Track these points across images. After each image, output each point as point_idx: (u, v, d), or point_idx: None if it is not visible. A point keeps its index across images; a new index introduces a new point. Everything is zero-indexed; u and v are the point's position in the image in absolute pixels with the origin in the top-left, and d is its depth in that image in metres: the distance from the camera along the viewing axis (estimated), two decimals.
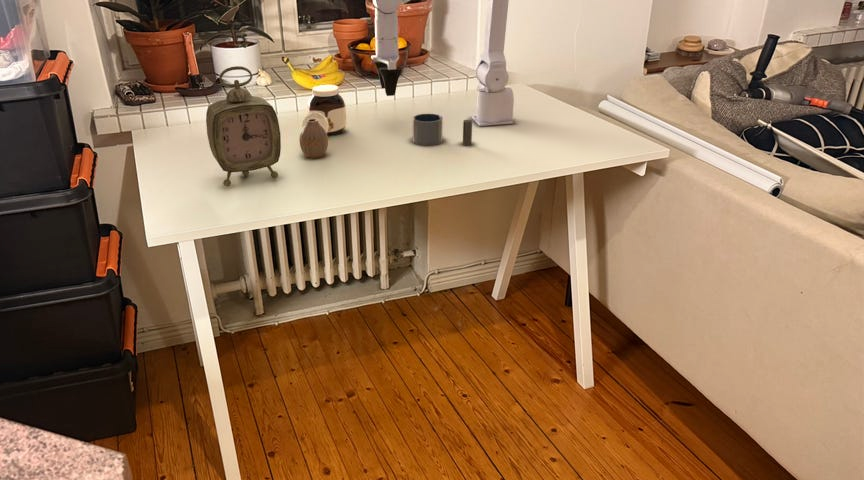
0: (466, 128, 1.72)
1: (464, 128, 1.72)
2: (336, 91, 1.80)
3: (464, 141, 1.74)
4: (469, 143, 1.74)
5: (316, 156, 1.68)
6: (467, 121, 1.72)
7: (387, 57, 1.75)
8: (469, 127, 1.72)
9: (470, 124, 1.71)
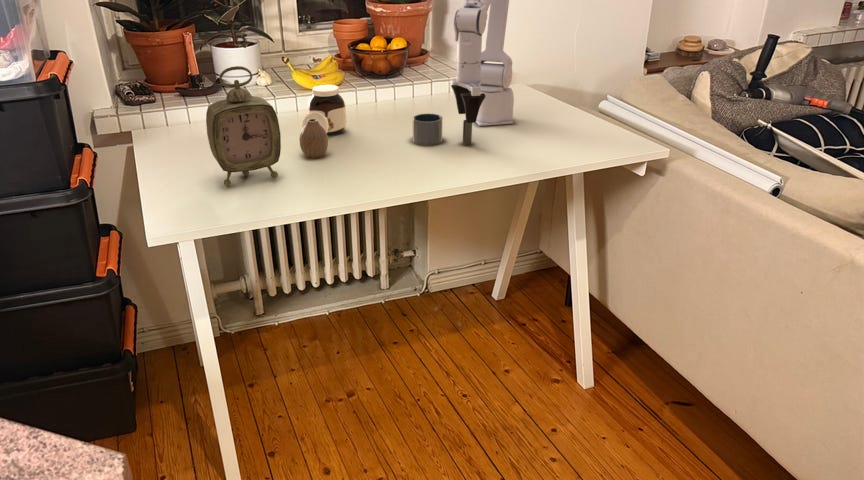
0: (466, 128, 1.72)
1: (464, 128, 1.72)
2: (336, 91, 1.80)
3: (464, 141, 1.74)
4: (469, 143, 1.74)
5: (316, 156, 1.68)
6: None
7: (469, 82, 1.65)
8: (469, 127, 1.72)
9: (470, 124, 1.71)
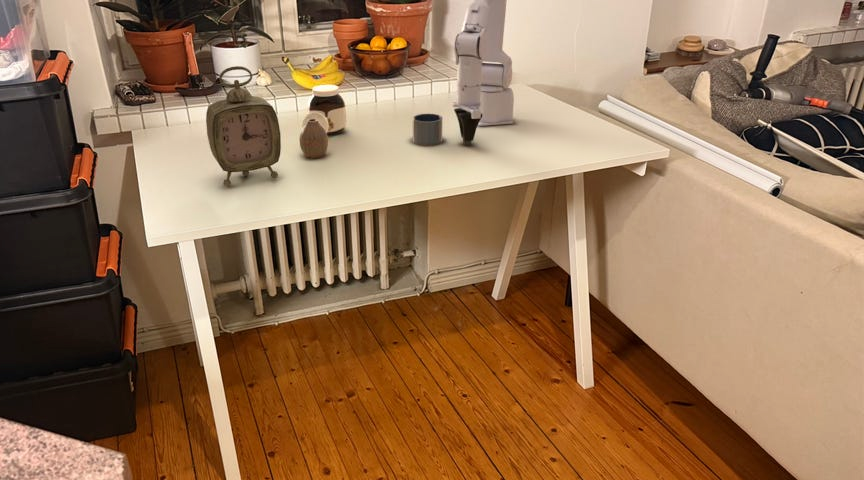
0: None
1: None
2: (336, 91, 1.80)
3: (464, 141, 1.74)
4: (469, 143, 1.74)
5: (316, 156, 1.68)
6: None
7: (469, 105, 1.67)
8: None
9: None
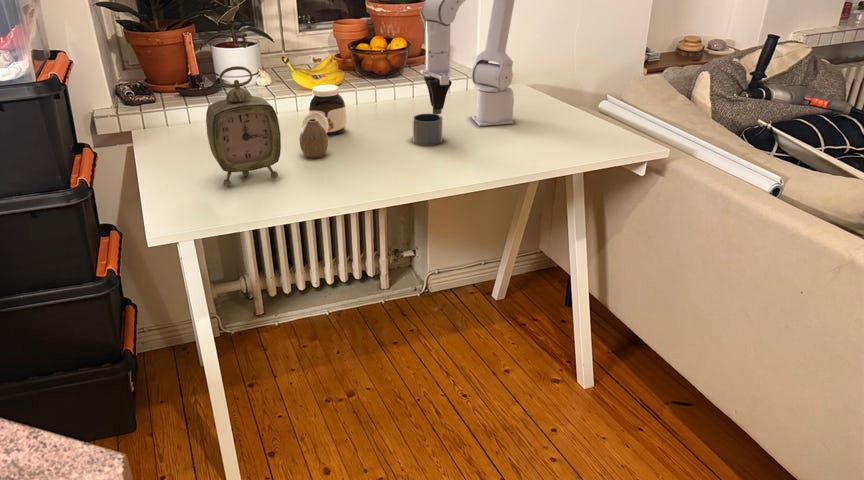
0: None
1: None
2: (336, 91, 1.80)
3: (434, 109, 1.72)
4: (439, 111, 1.72)
5: (316, 156, 1.68)
6: None
7: (438, 71, 1.66)
8: None
9: None
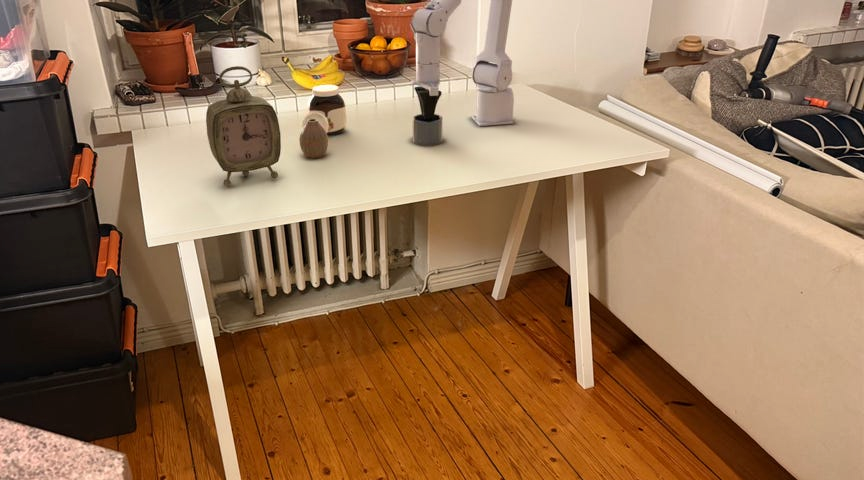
0: None
1: None
2: (336, 91, 1.80)
3: (424, 119, 1.74)
4: (429, 121, 1.74)
5: (316, 156, 1.68)
6: None
7: (428, 82, 1.68)
8: None
9: None
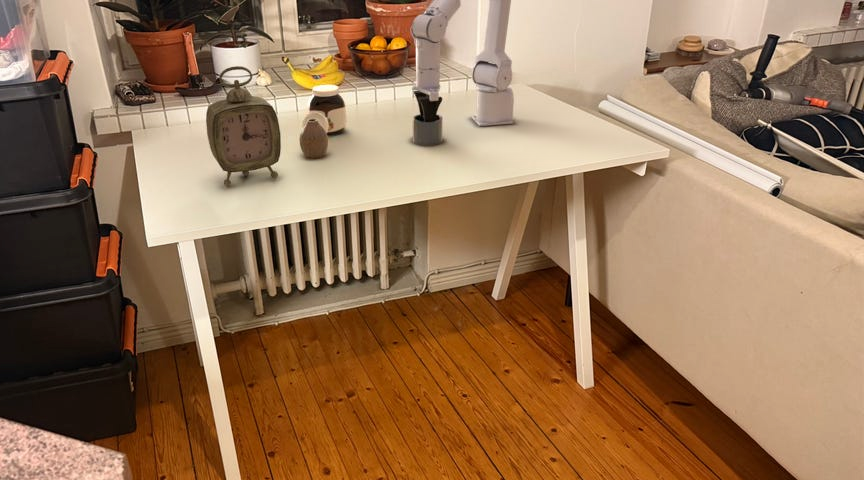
0: None
1: None
2: (336, 91, 1.80)
3: None
4: None
5: (316, 156, 1.68)
6: None
7: (428, 87, 1.68)
8: None
9: None
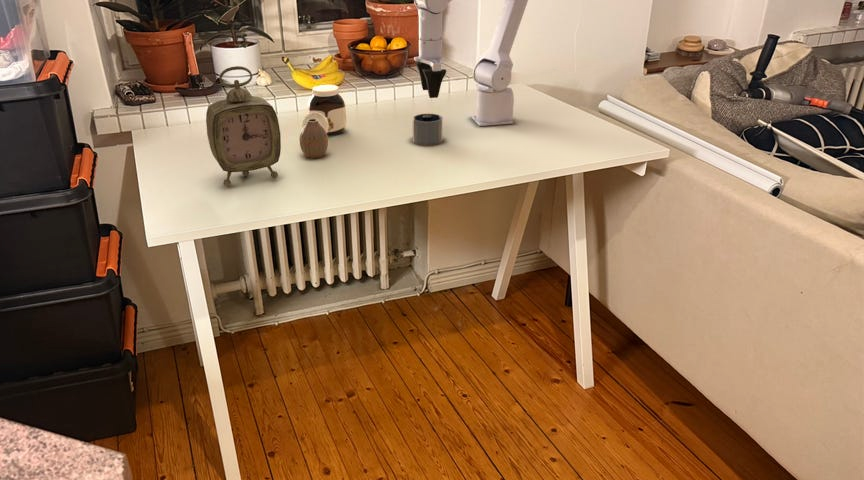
0: None
1: None
2: (336, 91, 1.80)
3: None
4: None
5: (316, 156, 1.68)
6: (427, 116, 1.74)
7: (431, 58, 1.71)
8: None
9: (430, 119, 1.74)
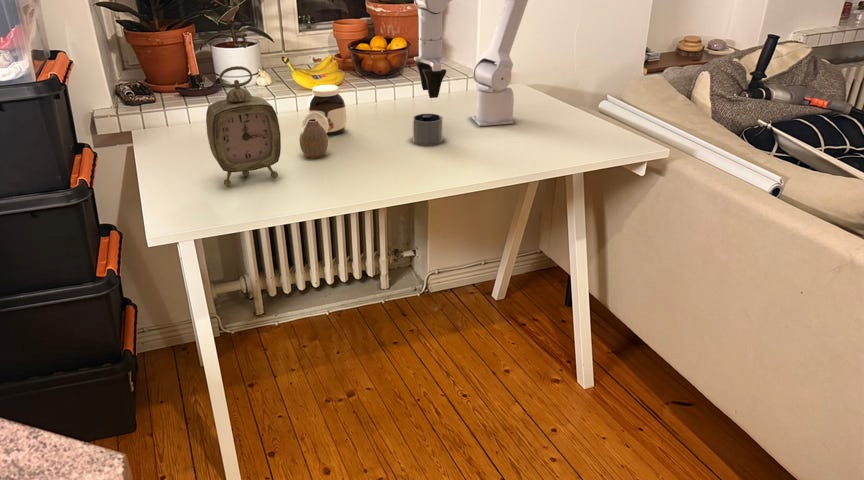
0: None
1: None
2: (336, 91, 1.80)
3: None
4: None
5: (316, 156, 1.68)
6: (427, 116, 1.74)
7: (431, 58, 1.71)
8: None
9: (430, 119, 1.74)
